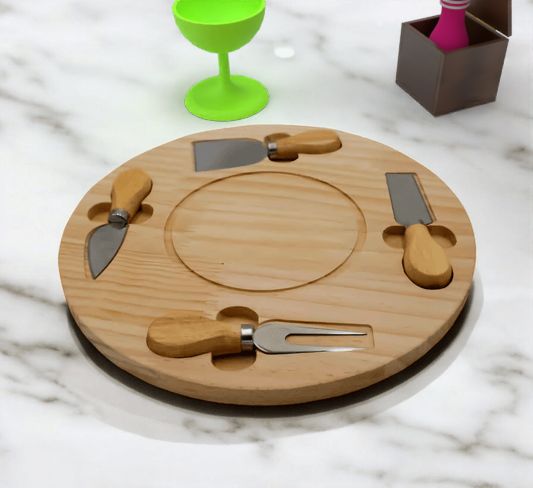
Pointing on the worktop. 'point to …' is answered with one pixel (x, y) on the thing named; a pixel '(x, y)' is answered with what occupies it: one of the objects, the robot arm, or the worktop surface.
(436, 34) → the pepper mill
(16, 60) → the worktop surface
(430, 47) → the chest
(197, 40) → the wineglass
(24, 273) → the worktop surface
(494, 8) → the lid
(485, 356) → the worktop surface
